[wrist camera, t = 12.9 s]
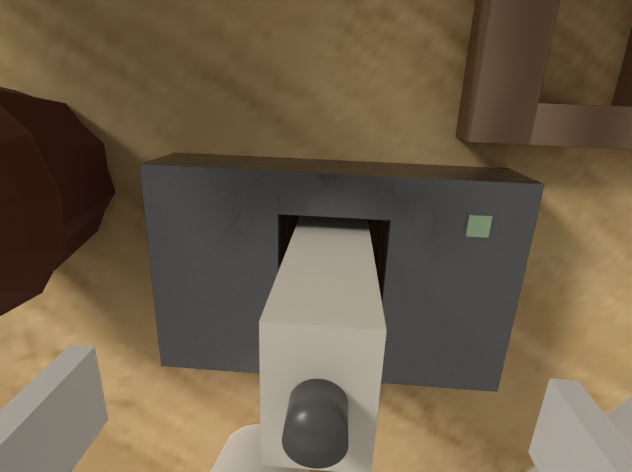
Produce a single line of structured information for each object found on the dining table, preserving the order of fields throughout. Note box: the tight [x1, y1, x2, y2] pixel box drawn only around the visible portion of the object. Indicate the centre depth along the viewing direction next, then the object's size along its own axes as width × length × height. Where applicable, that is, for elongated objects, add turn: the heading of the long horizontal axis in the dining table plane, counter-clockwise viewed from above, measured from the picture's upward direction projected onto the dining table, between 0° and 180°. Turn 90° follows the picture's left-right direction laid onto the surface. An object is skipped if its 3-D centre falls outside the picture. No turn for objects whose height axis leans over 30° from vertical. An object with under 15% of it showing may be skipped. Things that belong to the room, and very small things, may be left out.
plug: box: [259, 215, 387, 472], centre depth 17 cm, size 4×5×14 cm, turn 178°
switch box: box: [139, 153, 544, 392], centre depth 22 cm, size 18×11×4 cm, turn 88°
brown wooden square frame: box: [456, 0, 632, 149], centre depth 18 cm, size 10×10×2 cm
